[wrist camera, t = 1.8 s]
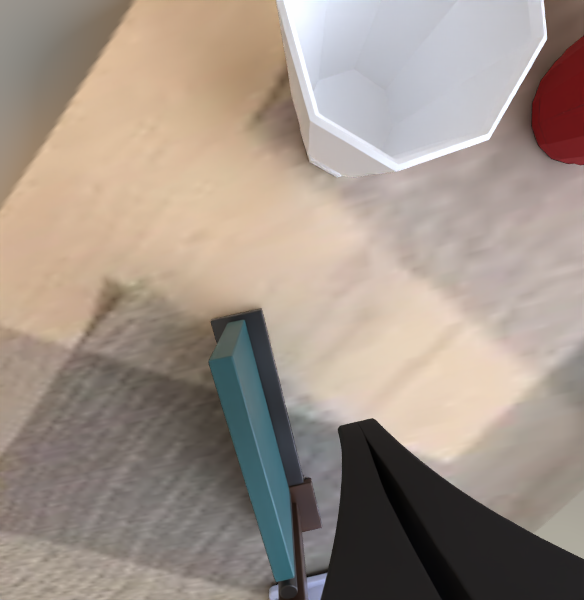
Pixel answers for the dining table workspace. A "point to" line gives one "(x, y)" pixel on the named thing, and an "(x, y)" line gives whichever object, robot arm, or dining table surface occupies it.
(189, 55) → the dining table surface
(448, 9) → the cup
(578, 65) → the plastic cup
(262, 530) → the door
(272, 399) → the door frame
